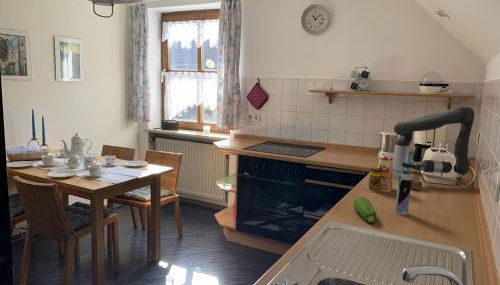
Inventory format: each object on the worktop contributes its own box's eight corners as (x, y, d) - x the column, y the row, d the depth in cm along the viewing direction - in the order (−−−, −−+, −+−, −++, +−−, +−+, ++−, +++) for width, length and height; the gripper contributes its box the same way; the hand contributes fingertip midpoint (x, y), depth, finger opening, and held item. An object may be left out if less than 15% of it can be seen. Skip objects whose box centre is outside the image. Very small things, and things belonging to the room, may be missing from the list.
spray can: (401, 215, 174) (406, 172, 170) (392, 211, 179) (397, 169, 175) (410, 214, 176) (415, 172, 173) (401, 210, 181) (406, 169, 178)
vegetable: (364, 192, 179) (377, 207, 159) (369, 205, 180) (383, 222, 160) (349, 198, 179) (361, 214, 159) (354, 211, 180) (367, 228, 161)
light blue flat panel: (397, 176, 241) (400, 151, 238) (402, 176, 241) (405, 151, 238) (406, 183, 226) (409, 156, 223) (411, 183, 226) (415, 156, 223)
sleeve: (393, 177, 242) (394, 170, 241) (403, 178, 242) (404, 171, 241) (400, 182, 231) (400, 175, 231) (410, 182, 231) (411, 175, 231)
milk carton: (390, 192, 210) (394, 156, 206) (372, 189, 214) (376, 154, 210) (392, 188, 218) (396, 153, 214) (375, 185, 222) (379, 151, 218)
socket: (405, 186, 223) (406, 178, 222) (416, 187, 223) (417, 179, 222) (409, 189, 217) (410, 181, 216) (421, 190, 217) (422, 182, 216)
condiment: (370, 191, 209) (372, 170, 206) (363, 187, 217) (365, 166, 215) (383, 191, 210) (385, 170, 208) (375, 187, 218) (378, 166, 216)
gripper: (427, 157, 235) (399, 156, 235) (438, 162, 221) (408, 161, 221) (426, 169, 236) (398, 168, 236) (436, 175, 222) (406, 174, 222)
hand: (403, 165), depth 229 cm, fingers closed on light blue flat panel, 2 cm apart
